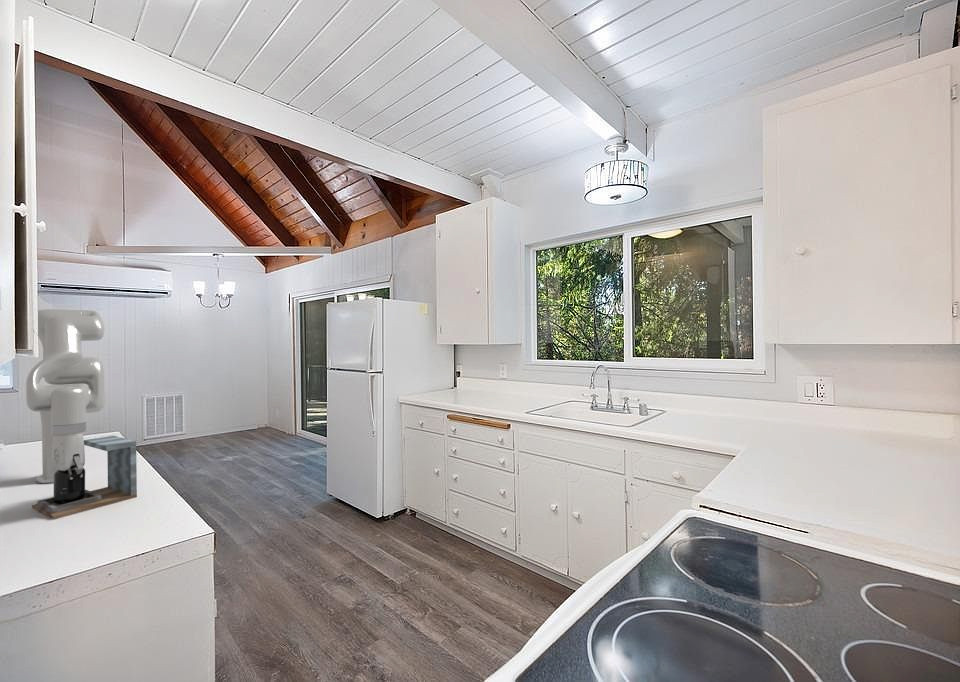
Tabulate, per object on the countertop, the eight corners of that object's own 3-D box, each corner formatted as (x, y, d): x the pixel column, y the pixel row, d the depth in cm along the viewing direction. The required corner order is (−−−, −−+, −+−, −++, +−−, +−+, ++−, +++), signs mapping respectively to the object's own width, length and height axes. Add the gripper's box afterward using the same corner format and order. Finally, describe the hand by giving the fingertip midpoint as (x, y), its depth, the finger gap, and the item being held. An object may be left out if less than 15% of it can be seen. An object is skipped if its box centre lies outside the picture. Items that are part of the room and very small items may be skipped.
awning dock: (32, 508, 129) (31, 448, 129) (113, 488, 146) (112, 435, 146) (53, 519, 121) (52, 455, 121) (136, 497, 138) (136, 440, 138)
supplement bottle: (66, 505, 126) (65, 463, 126) (47, 503, 128) (46, 462, 127) (91, 497, 133) (91, 457, 133) (73, 495, 134) (73, 456, 134)
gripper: (40, 428, 131) (41, 488, 131) (64, 435, 122) (64, 499, 123) (73, 424, 138) (74, 481, 138) (97, 430, 129) (98, 491, 129)
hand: (69, 489), depth 130 cm, fingers closed on supplement bottle, 6 cm apart
